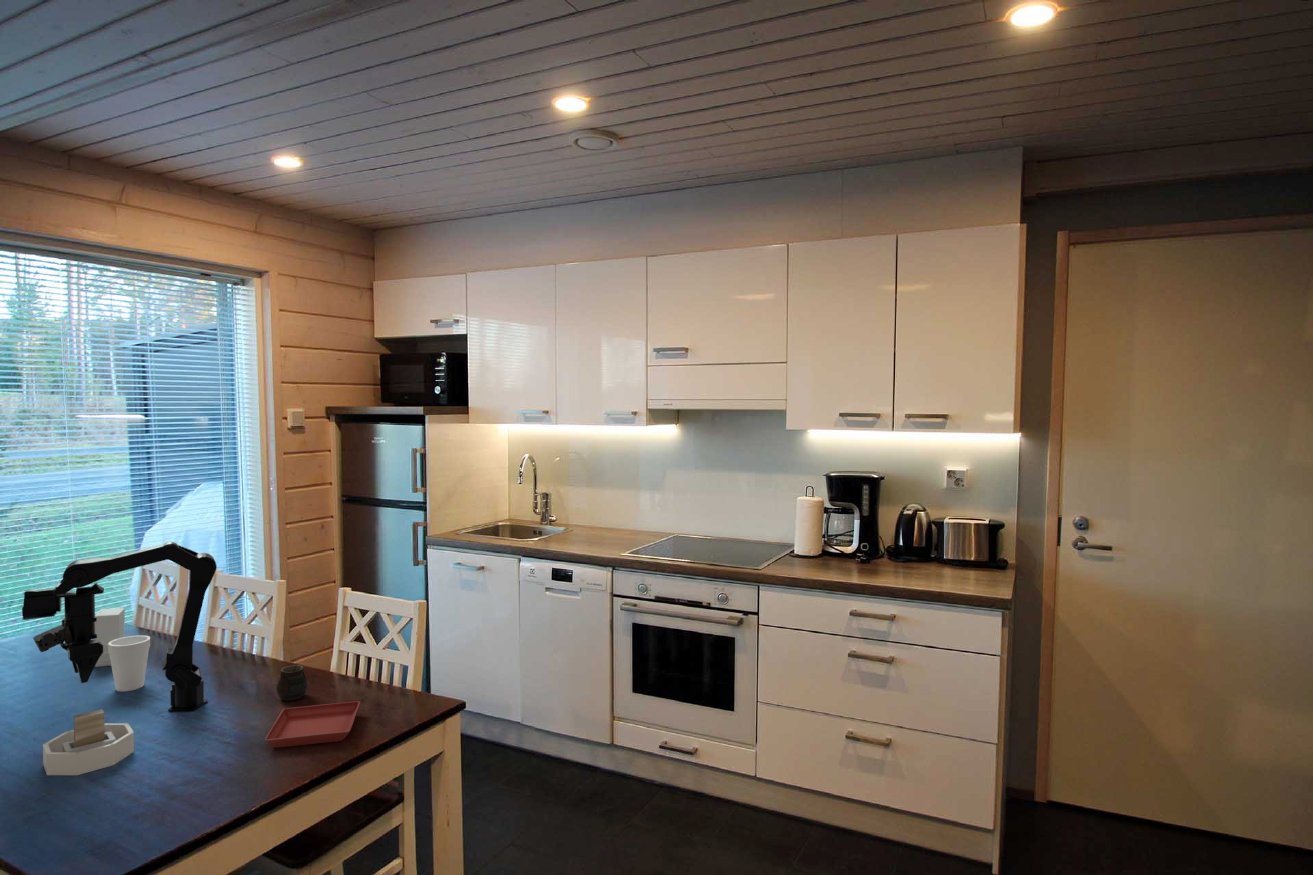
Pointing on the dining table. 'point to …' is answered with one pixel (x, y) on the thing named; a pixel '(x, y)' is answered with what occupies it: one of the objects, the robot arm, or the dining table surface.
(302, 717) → the plant saucer
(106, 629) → the skincare box
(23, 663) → the dining table surface
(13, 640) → the dining table surface
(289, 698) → the mate gourd
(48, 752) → the octagonal boat dish
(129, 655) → the foam cup
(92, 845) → the dining table surface
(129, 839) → the dining table surface
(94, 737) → the wood grain block
